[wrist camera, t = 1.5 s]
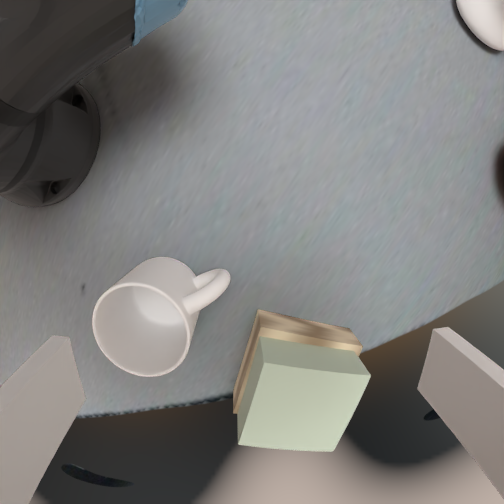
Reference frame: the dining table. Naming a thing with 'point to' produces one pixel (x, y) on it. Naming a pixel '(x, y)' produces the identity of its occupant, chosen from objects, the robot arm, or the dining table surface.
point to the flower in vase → (484, 20)
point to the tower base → (294, 332)
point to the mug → (154, 314)
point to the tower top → (299, 396)
